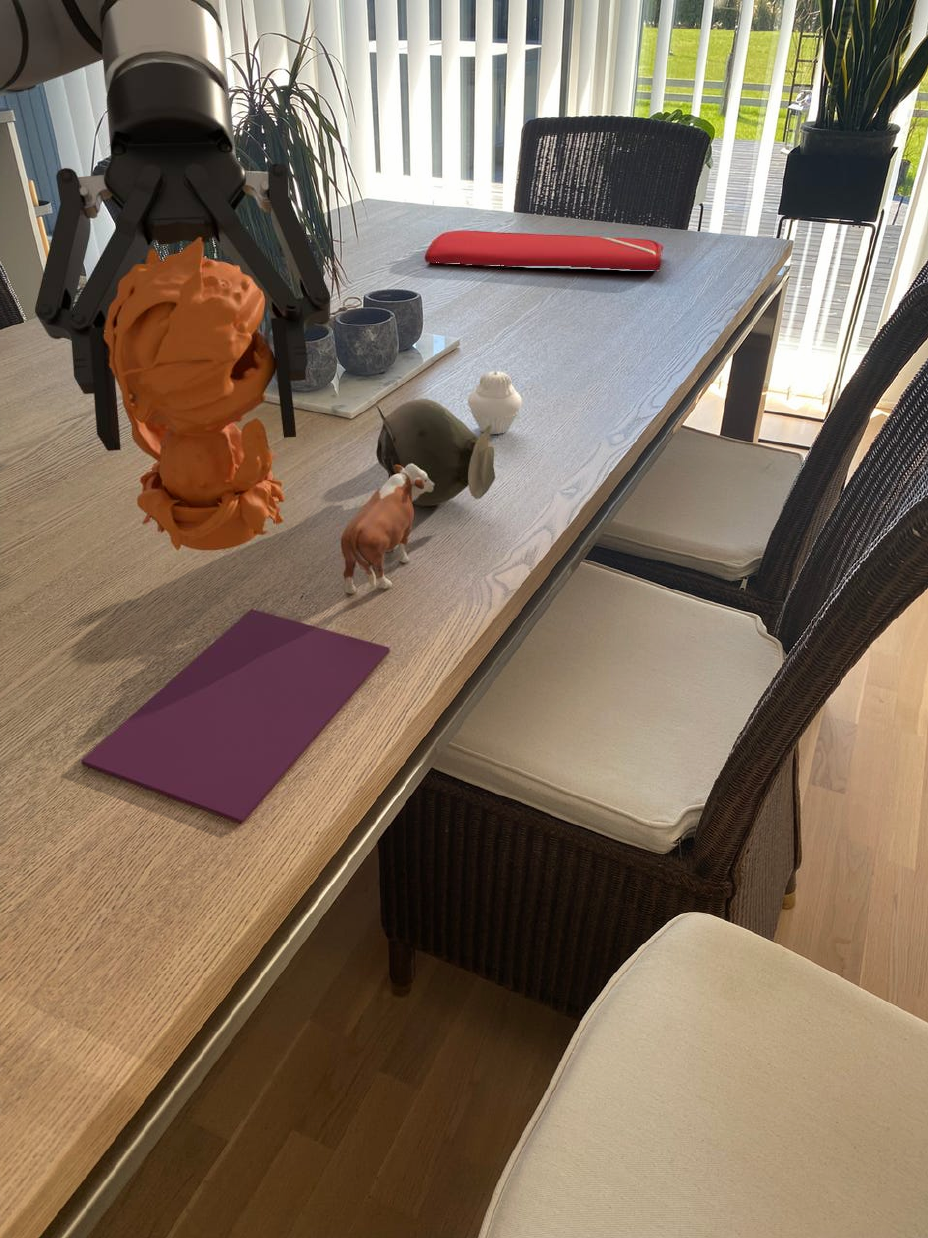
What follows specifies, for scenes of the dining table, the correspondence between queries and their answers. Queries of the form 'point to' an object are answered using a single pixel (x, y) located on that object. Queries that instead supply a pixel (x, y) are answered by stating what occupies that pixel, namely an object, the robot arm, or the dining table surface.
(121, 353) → the orange character figurine
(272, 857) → the dining table surface
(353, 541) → the bull figurine
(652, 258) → the dish drying mat
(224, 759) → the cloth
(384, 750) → the dining table surface
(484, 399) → the muffin
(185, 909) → the dining table surface
